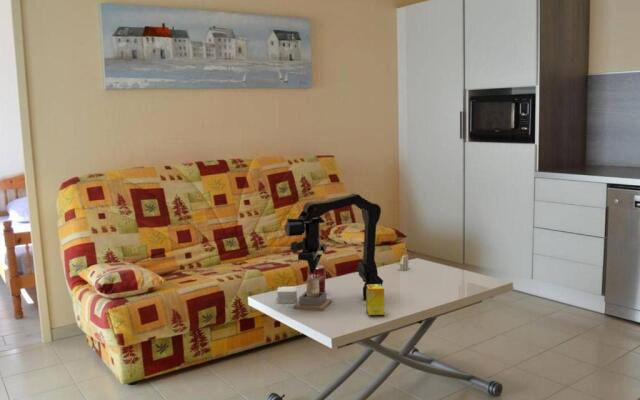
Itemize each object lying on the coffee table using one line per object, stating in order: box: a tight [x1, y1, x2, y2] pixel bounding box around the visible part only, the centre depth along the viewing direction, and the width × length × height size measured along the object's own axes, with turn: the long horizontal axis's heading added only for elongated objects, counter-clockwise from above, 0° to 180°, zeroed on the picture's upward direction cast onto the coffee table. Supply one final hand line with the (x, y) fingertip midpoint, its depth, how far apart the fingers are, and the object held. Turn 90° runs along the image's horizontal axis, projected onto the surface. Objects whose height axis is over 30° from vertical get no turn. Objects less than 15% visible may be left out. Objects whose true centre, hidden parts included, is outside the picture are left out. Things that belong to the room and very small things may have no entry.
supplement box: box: [365, 284, 385, 318], centre depth 224 cm, size 6×6×11 cm
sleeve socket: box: [293, 290, 333, 312], centre depth 237 cm, size 12×12×4 cm
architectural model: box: [396, 254, 410, 272], centre depth 293 cm, size 3×7×7 cm, turn 147°
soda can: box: [307, 264, 326, 293], centre depth 251 cm, size 7×7×12 cm
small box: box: [276, 286, 298, 304], centre depth 243 cm, size 8×8×5 cm
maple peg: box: [305, 278, 319, 298], centre depth 236 cm, size 5×5×9 cm
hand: (312, 273), depth 235 cm, fingers closed
